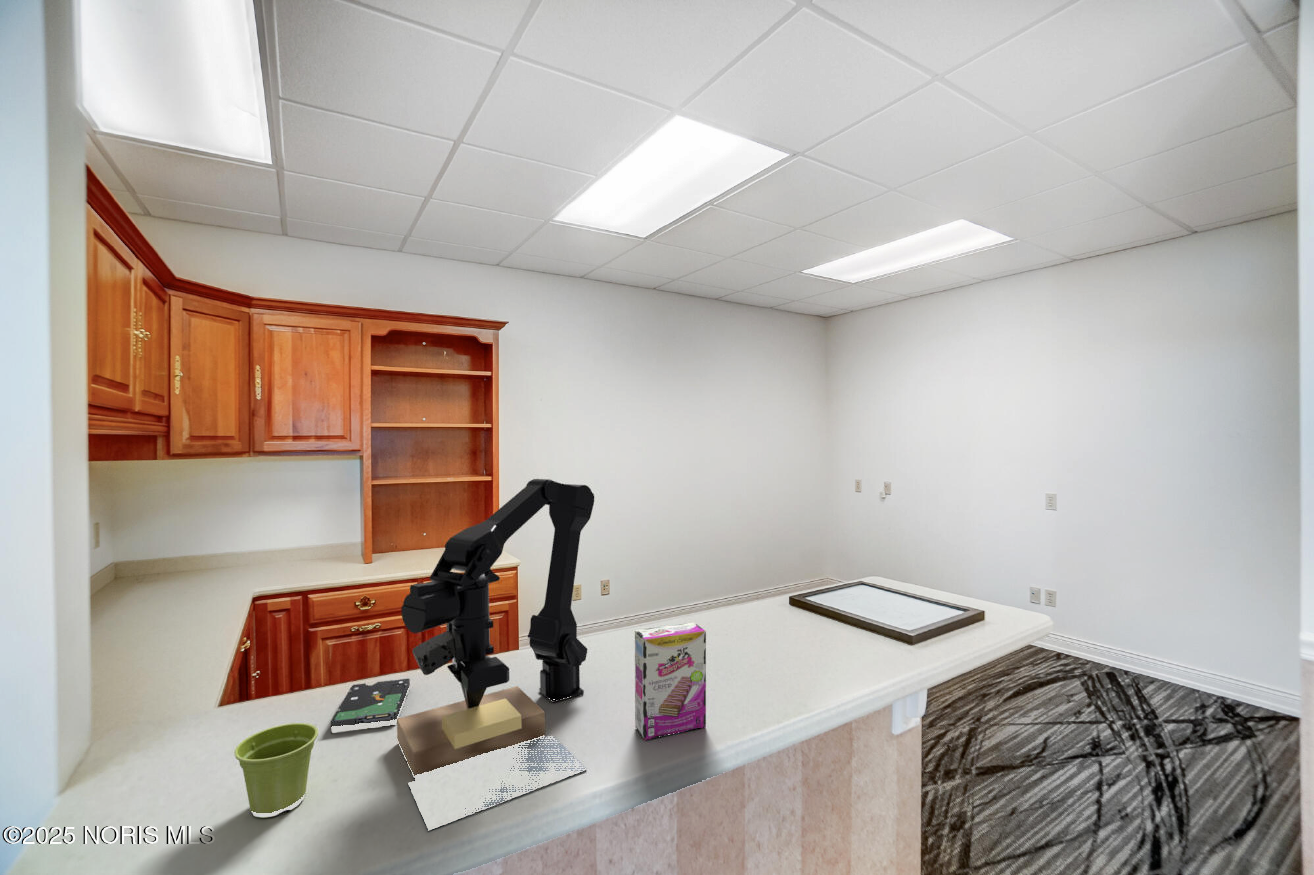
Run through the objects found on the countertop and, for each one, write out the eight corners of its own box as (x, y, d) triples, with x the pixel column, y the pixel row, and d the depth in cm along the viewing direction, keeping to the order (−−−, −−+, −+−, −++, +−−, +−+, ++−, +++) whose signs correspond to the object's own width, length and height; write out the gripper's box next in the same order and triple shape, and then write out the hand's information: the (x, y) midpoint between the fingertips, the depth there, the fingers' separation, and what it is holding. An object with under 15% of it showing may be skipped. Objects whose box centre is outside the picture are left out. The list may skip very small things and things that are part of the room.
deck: (517, 708, 104) (517, 685, 104) (545, 736, 94) (544, 711, 94) (397, 743, 93) (396, 718, 93) (414, 780, 83) (413, 752, 83)
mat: (552, 735, 94) (552, 734, 94) (586, 770, 84) (586, 768, 84) (407, 784, 82) (407, 782, 82) (428, 831, 72) (428, 829, 72)
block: (505, 710, 95) (505, 698, 95) (521, 728, 89) (521, 715, 89) (442, 728, 89) (442, 716, 89) (454, 749, 83) (454, 735, 83)
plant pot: (333, 782, 83) (331, 721, 83) (294, 827, 73) (292, 758, 73) (266, 784, 82) (264, 723, 82) (218, 830, 73) (216, 761, 73)
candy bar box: (644, 743, 92) (643, 639, 92) (634, 728, 96) (632, 629, 96) (708, 728, 96) (707, 629, 96) (695, 715, 100) (694, 620, 100)
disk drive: (351, 699, 110) (330, 737, 96) (351, 684, 110) (329, 720, 96) (410, 691, 113) (398, 727, 99) (410, 677, 113) (397, 711, 99)
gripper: (404, 609, 96) (406, 703, 96) (431, 642, 80) (433, 754, 80) (472, 597, 102) (474, 686, 102) (509, 626, 86) (511, 730, 87)
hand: (472, 711), depth 93 cm, fingers closed
